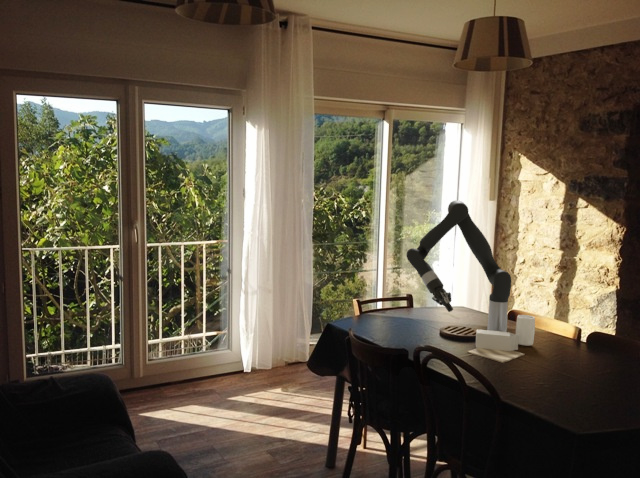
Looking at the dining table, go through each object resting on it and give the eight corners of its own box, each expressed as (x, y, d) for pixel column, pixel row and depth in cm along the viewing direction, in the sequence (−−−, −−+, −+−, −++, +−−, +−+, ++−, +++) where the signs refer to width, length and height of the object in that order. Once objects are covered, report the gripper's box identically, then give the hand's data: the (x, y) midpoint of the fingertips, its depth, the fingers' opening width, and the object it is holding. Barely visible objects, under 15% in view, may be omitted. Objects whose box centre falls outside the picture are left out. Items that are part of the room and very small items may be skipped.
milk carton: (475, 347, 262) (518, 352, 258) (476, 333, 261) (519, 337, 257) (475, 343, 269) (517, 347, 264) (476, 329, 268) (518, 332, 264)
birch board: (489, 345, 269) (489, 344, 269) (524, 355, 255) (524, 353, 255) (467, 352, 257) (467, 351, 257) (502, 362, 244) (502, 361, 244)
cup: (534, 344, 272) (536, 316, 271) (532, 349, 265) (534, 319, 263) (515, 342, 276) (517, 313, 274) (513, 346, 268) (515, 317, 267)
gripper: (428, 278, 274) (447, 308, 266) (444, 276, 282) (464, 304, 275) (419, 287, 278) (438, 317, 271) (435, 284, 287) (454, 313, 279)
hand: (451, 310), depth 273 cm, fingers closed
